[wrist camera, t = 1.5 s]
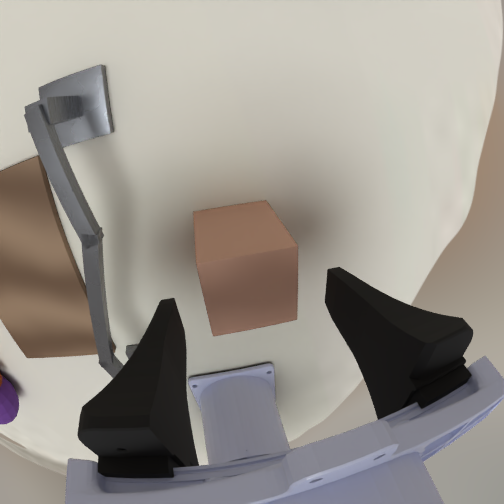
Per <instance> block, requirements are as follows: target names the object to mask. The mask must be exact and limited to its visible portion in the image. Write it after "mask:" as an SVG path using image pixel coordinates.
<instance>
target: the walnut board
mask: <svg viewBox="0 0 504 504" xmlns="http://www.w3.org/2000/svg"><path fill="white" fill-rule="evenodd" d="M0 319H1V320H2V322H3V324H4V325H5V327H6V328H7V330H8V331H9V333H10V334H11V336H12V337H13V339H14V340H15V342H16V343H17V345H18V346H19V348H20V349H21V350H22V352H23V353H24V355H25V356H26V357H27V358H46V357H65V356H81V355H93V354H98V352H97V347H96V342H95V338H94V332H93V327H92V322H91V316H90V310H89V304H88V297H87V290H86V286H85V284H84V282H83V279H82V277H81V275H80V272H79V270H78V267H77V265H76V263H75V260H74V258H73V255H72V252H71V250H70V247H69V244H68V242H67V239H66V236H65V233H64V231H63V228H62V225H61V222H60V219H59V216H58V213H57V209H56V206H55V203H54V200H53V196H52V193H51V189H50V186H49V182H48V178H47V174H46V170H45V168H44V165H43V163H42V161H41V158H40V156H36V157H33V158H31V159H28V160H26V161H23V162H21V163H18V164H16V165H14V166H11V167H9V168H7V169H4V170H2V171H0ZM112 346H113V352H114V353H115V350H116V347H115V345H114V343H113V341H112Z"/></svg>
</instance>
